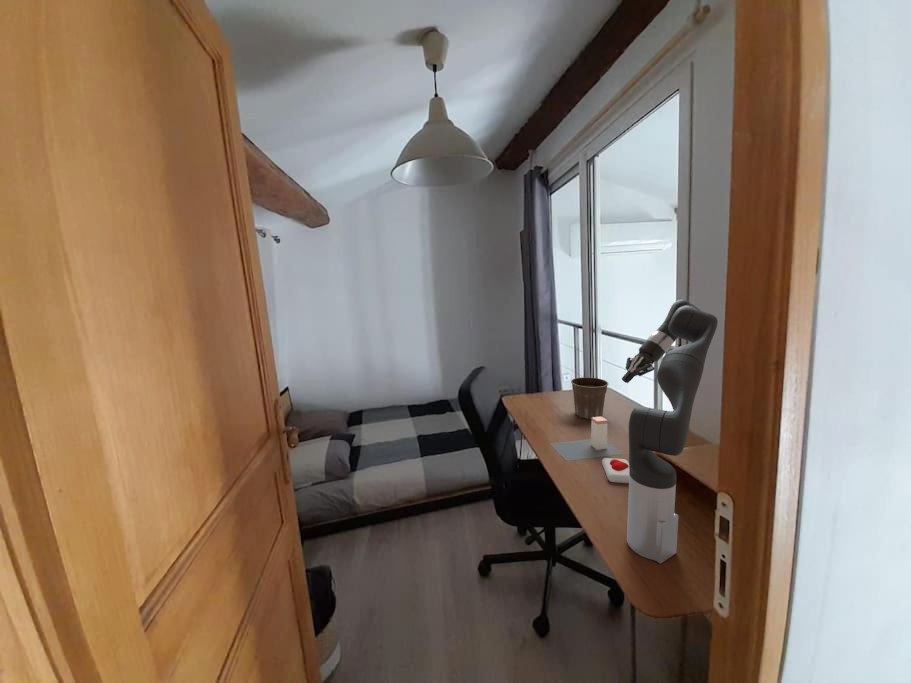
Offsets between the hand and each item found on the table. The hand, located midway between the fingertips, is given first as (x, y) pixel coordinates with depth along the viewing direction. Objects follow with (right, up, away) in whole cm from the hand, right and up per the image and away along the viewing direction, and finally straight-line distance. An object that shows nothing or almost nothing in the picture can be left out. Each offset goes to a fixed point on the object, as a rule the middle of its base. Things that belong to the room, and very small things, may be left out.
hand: (624, 381), depth 127 cm
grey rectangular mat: (-14, -26, +2) cm, 29 cm away
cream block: (-8, -25, +2) cm, 26 cm away
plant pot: (+1, -20, +35) cm, 41 cm away
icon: (-8, -29, -15) cm, 33 cm away
